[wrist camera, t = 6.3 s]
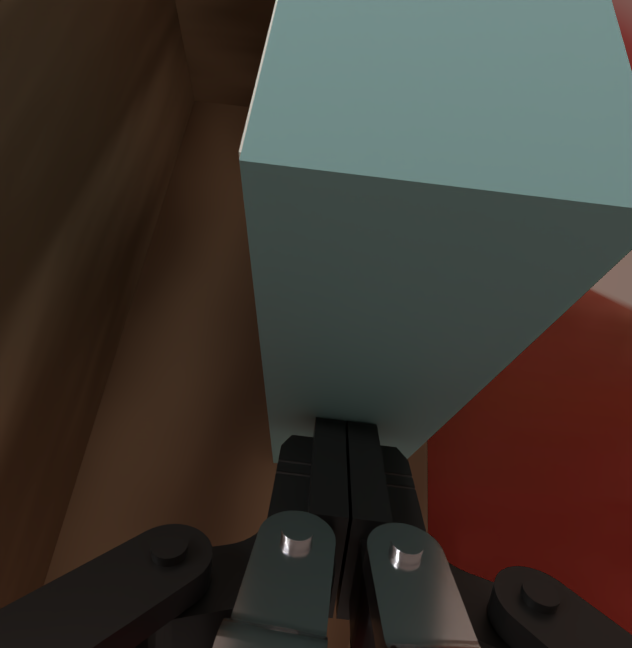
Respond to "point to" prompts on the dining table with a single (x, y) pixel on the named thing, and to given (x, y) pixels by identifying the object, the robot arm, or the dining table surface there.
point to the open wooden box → (129, 283)
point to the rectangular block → (427, 198)
